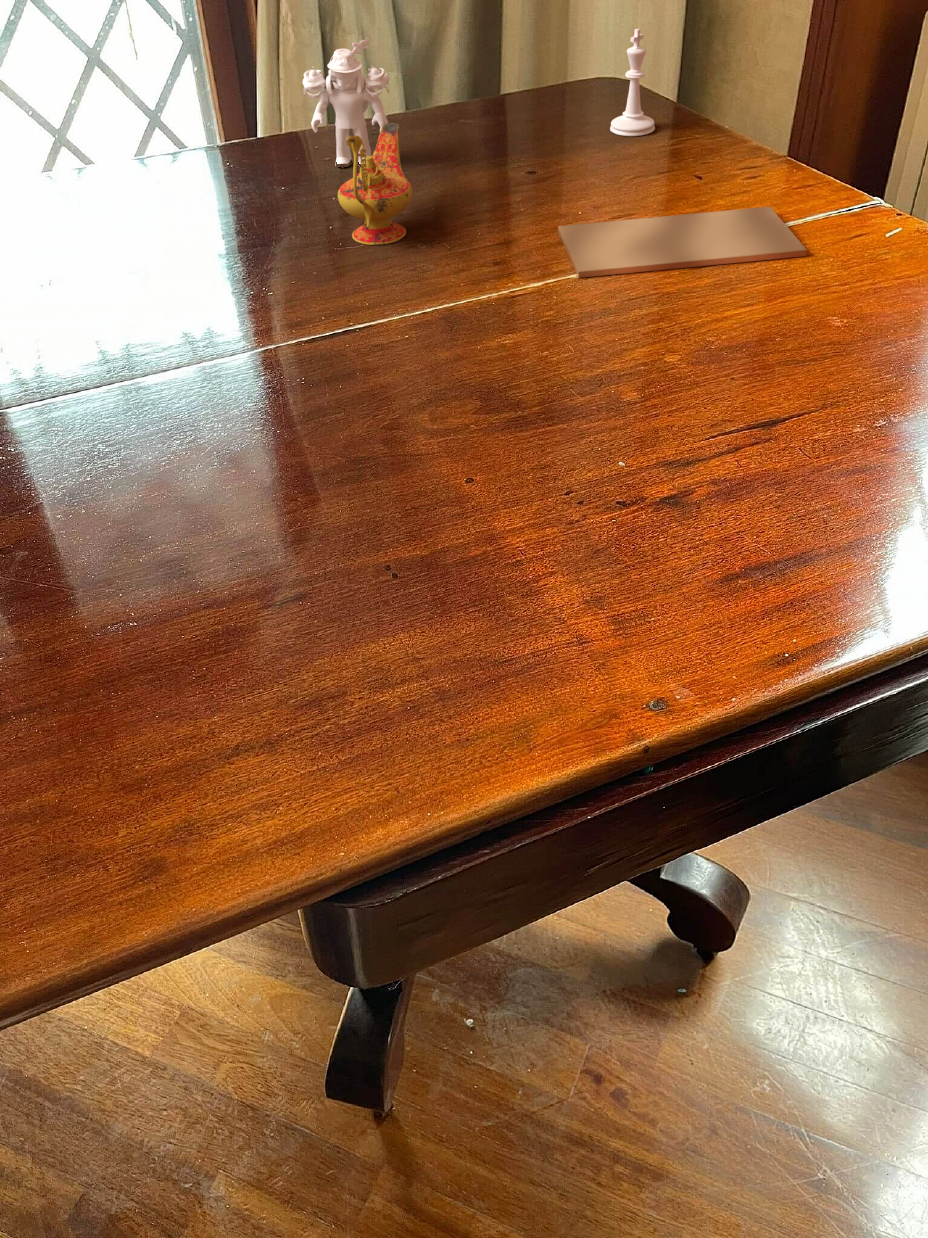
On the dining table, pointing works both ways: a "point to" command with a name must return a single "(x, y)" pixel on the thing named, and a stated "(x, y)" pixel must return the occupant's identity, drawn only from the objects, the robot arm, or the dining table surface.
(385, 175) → the magic lamp
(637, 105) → the chess piece
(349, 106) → the flower shoulder figurine
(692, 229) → the cork board
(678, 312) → the dining table surface
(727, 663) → the dining table surface
